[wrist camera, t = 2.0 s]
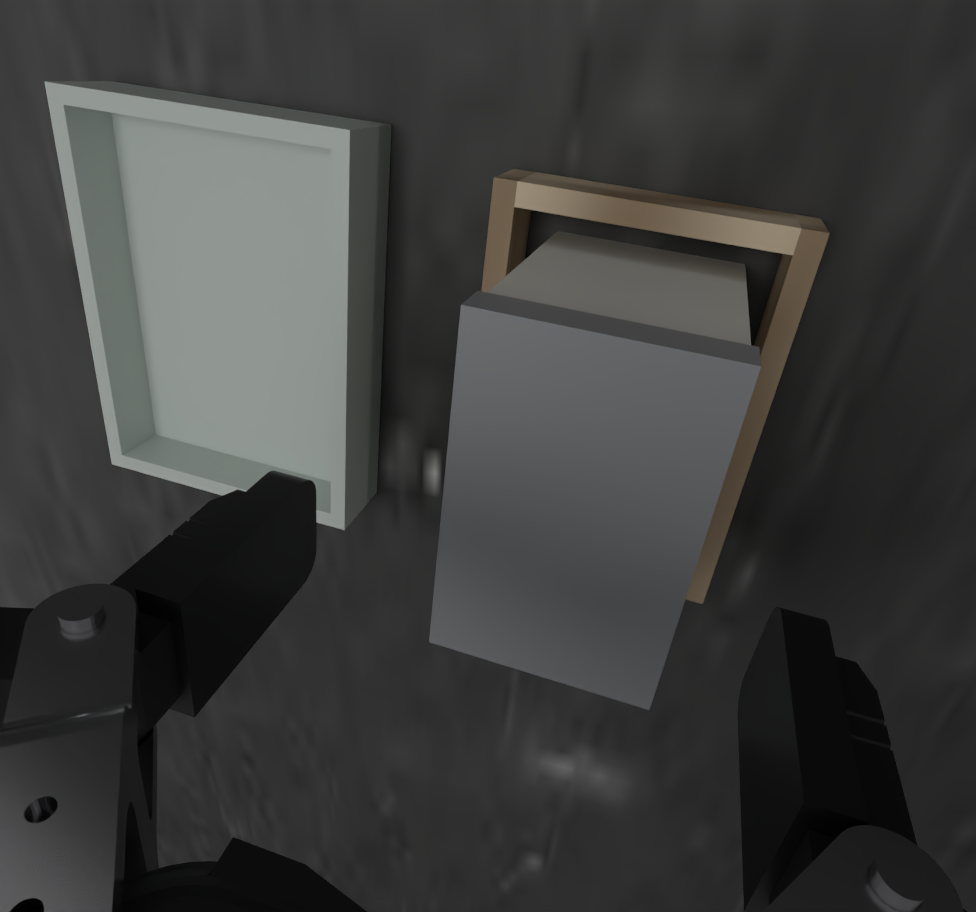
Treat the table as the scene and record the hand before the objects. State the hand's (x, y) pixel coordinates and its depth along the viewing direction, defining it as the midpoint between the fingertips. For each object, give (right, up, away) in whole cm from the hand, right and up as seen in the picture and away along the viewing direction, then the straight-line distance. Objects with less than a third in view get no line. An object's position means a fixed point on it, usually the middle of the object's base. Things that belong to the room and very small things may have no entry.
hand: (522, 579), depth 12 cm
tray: (-8, +7, +11) cm, 15 cm away
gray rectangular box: (+3, +4, +9) cm, 10 cm away
